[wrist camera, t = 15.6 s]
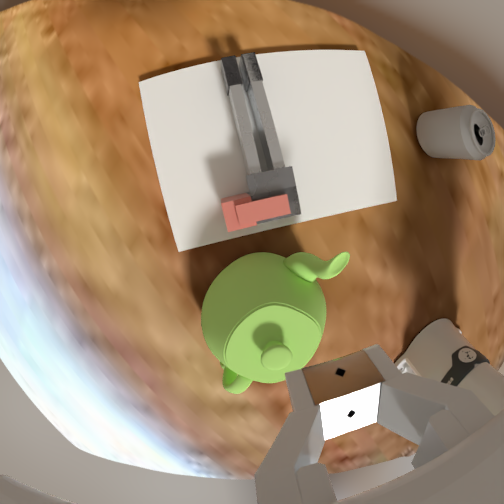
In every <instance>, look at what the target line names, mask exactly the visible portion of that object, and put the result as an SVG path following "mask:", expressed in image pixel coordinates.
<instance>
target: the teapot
mask: <svg viewBox="0 0 504 504" xmlns="http://www.w3.org/2000/svg"><path fill="white" fill-rule="evenodd" d="M349 258H350V254H349V253H348V252H342V253H340V254H338V255H337V256H335V257H334V258H332V259H330V260H328V261H323V260H321V259H320V258H318V257H317V256H315V255H313V254H310V253H305V252H298V253H295V254H292V255H290V256H289V257H287V258H285V257H283V256H280V255H277V254H273V253H267V252H257V253H251V254H247V255H245V256H243V257H240V258H239V259H237V260H235V261H234V262H232V263H231V264H230V265H228V266H227V267H226V268H225V269H224V270H223V271H222V272H220V274H219V275H218V276H217V277H216V278H215V279H214V281H213V282H212V284H211V285H210V287H209V289H208V291H207V293H206V296H205V298H204V301H203V306H202V313H201V326H202V331H203V335H204V338H205V341H206V343H207V345H208V347H209V349H210V350H211V352H212V353H213V354H214V355H215V357H216V358H217V359H218V360H219V361H220V365H221V367H222V368H223V369H224V373H223V387H224V389H225V390H227V391H228V392H230V393H234V394H239V393H242V392H243V391H245V390H246V389H247V388H248V387H249V385H250V384H251V383H252V381H253V380H254V381H258V382H263V383H276V382H280V381H283V380H285V379H286V378H285V373H286V372H290V371H295V370H299V369H301V368H303V367H304V366H305V365H306V364H307V363H308V362H309V360H310V359H311V358H312V356H313V355H314V353H315V351H316V349H317V347H318V345H319V343H320V340H321V338H322V334H323V330H324V326H325V321H326V303H325V298H324V295H323V292H322V290H321V287H320V285H319V284H318V282H317V281H316V278H317V277H319V278H322V279H330V278H332V277H335V276H336V275H338V274H339V273H340V272H341V271H342V270H343V269H344V268H345V266H346V265H347V263H348V261H349ZM237 374H238V376H237Z"/></svg>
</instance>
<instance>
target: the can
mask: <svg viewBox="0 0 504 504" xmlns="http://www.w3.org/2000/svg"><path fill="white" fill-rule="evenodd" d="M416 129H417V137H418V140H419V143H420V145H421V147H422V149H423V150H424V151H425V152H426V154H427V155H429V156H431V157H433V158H451V159H469V160H482V159H484V158H485V157H486V156H489V155H491V153H492V152H493V150H494V147H495V132H494V128H493V124H492V122H491V120H490V118H489V117H488V115H487V114H486V113H485V112H484V111H483V110H481V109H477V108H476V107H475V106H472V105H466V106H459V107H452V108H446V109H440V110H434V111H428V112H424V113H423V114H422V115H420V117H419V119H418V121H417V127H416Z"/></svg>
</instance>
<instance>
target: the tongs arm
mask: <svg viewBox="0 0 504 504" xmlns="http://www.w3.org/2000/svg"><path fill="white" fill-rule="evenodd" d="M239 70H240V73H241V77H242V80H243V84H244V87H245V91H246V92H247V93H248V96H249V100H250V104H251V107H252V111H253V115H254V118H255V122H256V126H257V129H258V133H259V137H260V141H261V144H262V148H263V152H264V156H265V160H266V164H267V168H268V171H269V170H274V169H279V168H284V167H285V164H284V160H283V156H282V152H281V148H280V144H279V140H278V136H277V133H276V129H275V125H274V121H273V118H272V114H271V110H270V107H269V103H268V100H267V96H266V93H265V89H264V86H263V83H262V81H263V78H262V74H261V71H260V68H259V65H258V61H257V58H256V55H255V52H253V53H247V54H241V57H240V62H239Z"/></svg>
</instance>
